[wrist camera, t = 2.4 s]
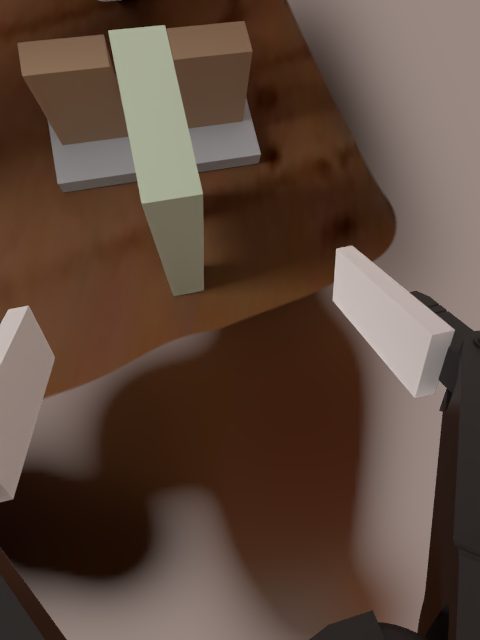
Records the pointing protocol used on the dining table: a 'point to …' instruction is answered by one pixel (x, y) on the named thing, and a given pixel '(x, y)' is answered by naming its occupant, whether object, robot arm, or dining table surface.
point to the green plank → (162, 152)
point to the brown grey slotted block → (107, 110)
